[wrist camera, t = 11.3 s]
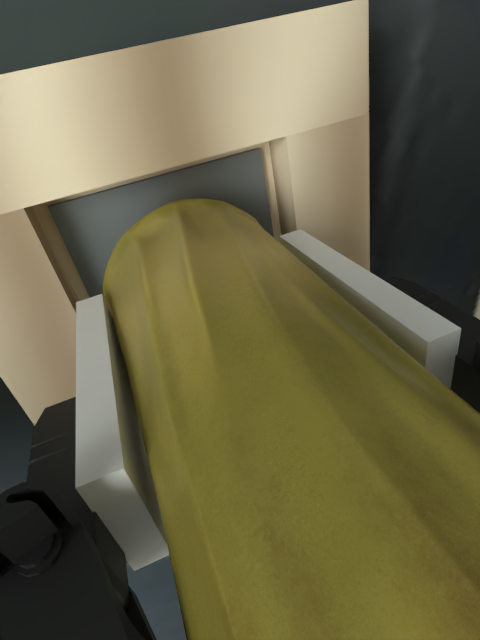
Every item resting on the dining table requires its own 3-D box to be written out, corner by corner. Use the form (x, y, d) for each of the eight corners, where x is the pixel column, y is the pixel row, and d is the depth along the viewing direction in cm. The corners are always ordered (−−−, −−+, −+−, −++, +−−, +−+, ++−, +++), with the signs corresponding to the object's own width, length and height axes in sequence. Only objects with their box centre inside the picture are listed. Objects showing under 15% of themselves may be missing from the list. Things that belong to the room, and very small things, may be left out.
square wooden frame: (78, 428, 19) (78, 487, 16) (-119, 108, 11) (-184, 113, 9) (332, 330, 22) (370, 366, 19) (309, 16, 14) (368, -4, 11)
